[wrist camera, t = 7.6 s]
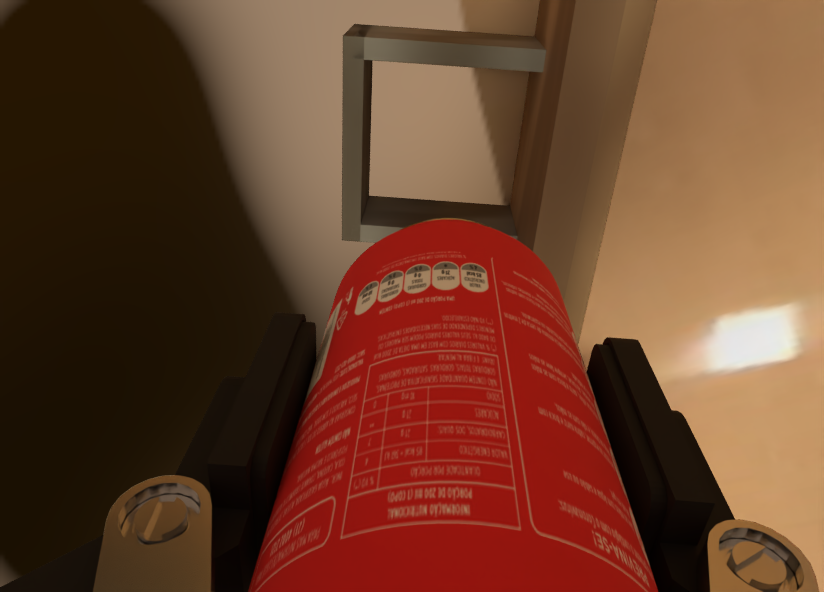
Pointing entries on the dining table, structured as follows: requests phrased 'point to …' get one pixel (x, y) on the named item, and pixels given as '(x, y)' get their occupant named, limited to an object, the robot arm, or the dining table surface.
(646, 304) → the dining table surface
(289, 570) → the beverage can
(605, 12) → the can rack
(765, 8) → the dining table surface
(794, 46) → the dining table surface
